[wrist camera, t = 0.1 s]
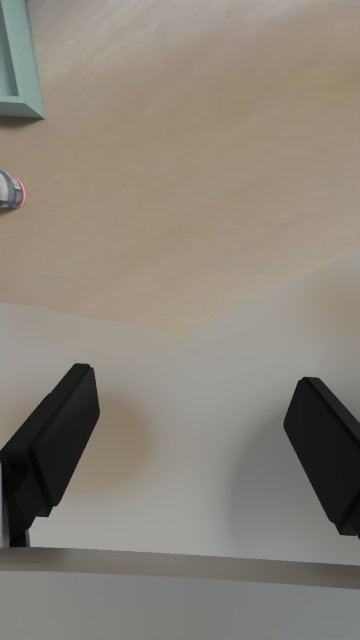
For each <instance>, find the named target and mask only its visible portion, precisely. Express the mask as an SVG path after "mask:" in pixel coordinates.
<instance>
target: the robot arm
mask: <svg viewBox="0 0 360 640" xmlns="http://www.w3.org/2000/svg"><path fill="white" fill-rule="evenodd" d="M99 414H100V409H99V403H98V395H97V388H96V381H95V374H94V369H93V368H91V367H90V365H89V364H80V363H76V364H74V365H73V366H72V368H71V369H70V370H69V371H68V372H67V373H66V375H65V376H64V377H63V378H62V379H61V381H60V382H59V383H58V385H57V386H56V387H55V388H54V389H53V391H52V392H51V393H49V394H48V395H47V396H46V397H45V398H44V399H43V401H42V402H41V403H40V404H39V405H38V406H37V408H36V409H35V410H34V411H33V413H32V414H31V415H30V416H29V417H28V419H27V420H26V421H25V422H24V423H23V424H22V426H21V427H20V428H19V429H18V430H17V432H16V433H15V434H14V435H13V436H12V438H11V439H10V440H9V441H8V442H7V444H6V445H5V446H4V447H3V448H2V449H1V451H0V640H360V566H355V565H340V564H326V563H311V562H296V561H281V560H266V559H250V558H234V557H218V556H201V555H184V554H169V553H168V554H167V553H151V552H132V551H114V550H95V549H74V548H44V547H30V538H29V528H30V527H31V525H32V523H33V521H34V519H35V517H36V516H37V517H49V515H50V512H51V510H52V508H53V506H57V505H58V504H59V502H60V501H61V499H62V496H63V494H64V492H65V490H66V488H67V486H68V484H69V481H70V479H71V477H72V475H73V473H74V471H75V468H76V466H77V464H78V462H79V460H80V458H81V455H82V453H83V451H84V449H85V447H86V445H87V442H88V440H89V438H90V436H91V433H92V431H93V429H94V427H95V425H96V423H97V421H98V418H99ZM284 429H285V432H286V434H287V436H288V438H289V440H290V442H291V444H292V446H293V448H294V450H295V452H296V454H297V456H298V458H299V460H300V462H301V464H302V466H303V468H304V470H305V472H306V474H307V477H308V479H309V481H310V483H311V485H312V487H313V489H314V491H315V493H316V495H317V497H318V499H319V501H320V503H321V505H322V507H323V509H324V511H325V513H326V515H327V517H328V519H329V520H330V521H331V522H332V523H334V524H335V526H336V528H337V530H338V532H339V534H340V535H347V536H356V535H358V538H359V539H360V423H359V422H358V421H357V420H356V419H355V417H354V416H353V415H352V414H351V413H350V412H349V411H348V410H347V408H346V407H345V406H344V405H343V404H342V403H341V402H340V401H339V399H338V398H337V397H336V396H335V395H334V394H333V393H332V392H331V391H330V390H329V388H328V387H327V386H326V385H325V384H324V383H323V382H322V381H321V380H320V379H319V378H315V377H303V378H302V379H301V380H299V381H298V383H297V386H296V389H295V391H294V394H293V397H292V400H291V403H290V406H289V408H288V411H287V414H286V417H285V420H284Z"/></svg>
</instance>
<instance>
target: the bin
mask: <svg viewBox="0 0 360 640" xmlns="http://www.w3.org/2000/svg"><path fill="white" fill-rule="evenodd" d="M0 116H12V117H27V118H42V119H45V117H44V111H43V104H42V98H41V91H40V85H39V79H38V72H37V66H36V60H35V53H34V47H33V41H32V34H31V28H30V22H29V15H28V9H27V2H26V0H0Z"/></svg>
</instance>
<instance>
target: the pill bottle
mask: <svg viewBox="0 0 360 640" xmlns="http://www.w3.org/2000/svg"><path fill="white" fill-rule="evenodd" d="M25 197H26V195H25V189H24V187H23V185H22V183H21V182H20V180H19V179H18V178H17V177H16V176H15V175H13V174H11V173H9V172H7V171H3V170H0V207H2V208H10V209H16V208H19V207H21V206H22V205H23V204H24V202H25Z"/></svg>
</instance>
